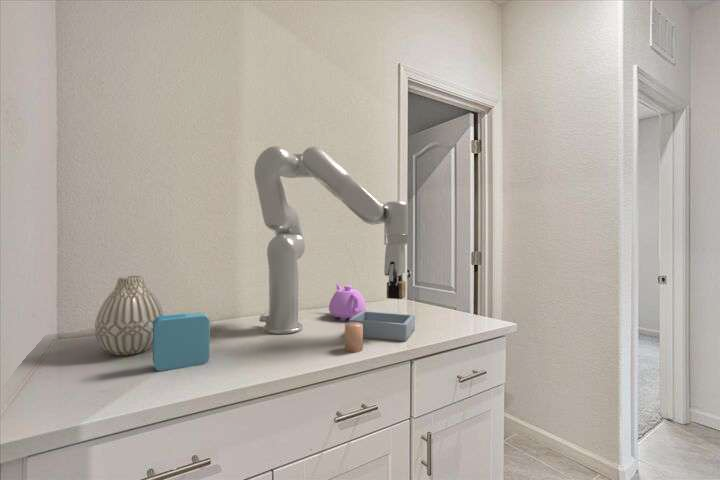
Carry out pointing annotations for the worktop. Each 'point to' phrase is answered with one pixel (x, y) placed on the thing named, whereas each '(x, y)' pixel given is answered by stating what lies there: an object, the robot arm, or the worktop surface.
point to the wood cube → (401, 290)
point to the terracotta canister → (353, 337)
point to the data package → (180, 341)
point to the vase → (127, 317)
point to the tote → (386, 325)
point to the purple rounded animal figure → (346, 303)
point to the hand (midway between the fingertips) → (395, 296)
